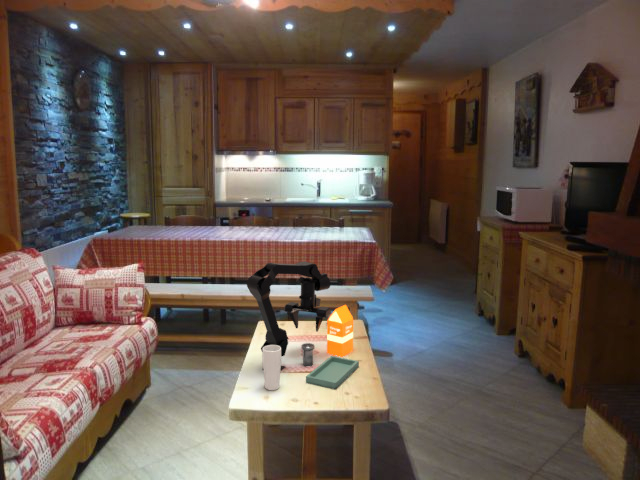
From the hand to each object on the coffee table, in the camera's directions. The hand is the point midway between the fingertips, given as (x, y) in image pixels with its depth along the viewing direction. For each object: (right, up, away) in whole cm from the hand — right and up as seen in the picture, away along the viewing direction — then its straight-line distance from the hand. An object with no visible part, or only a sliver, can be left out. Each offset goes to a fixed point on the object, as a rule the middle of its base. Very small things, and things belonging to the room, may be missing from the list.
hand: (307, 329), depth 211 cm
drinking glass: (-12, -17, -26) cm, 33 cm away
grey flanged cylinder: (+1, -13, -6) cm, 14 cm away
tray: (+10, -15, -15) cm, 23 cm away
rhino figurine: (+11, -6, +39) cm, 41 cm away
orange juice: (+14, -11, +8) cm, 19 cm away
